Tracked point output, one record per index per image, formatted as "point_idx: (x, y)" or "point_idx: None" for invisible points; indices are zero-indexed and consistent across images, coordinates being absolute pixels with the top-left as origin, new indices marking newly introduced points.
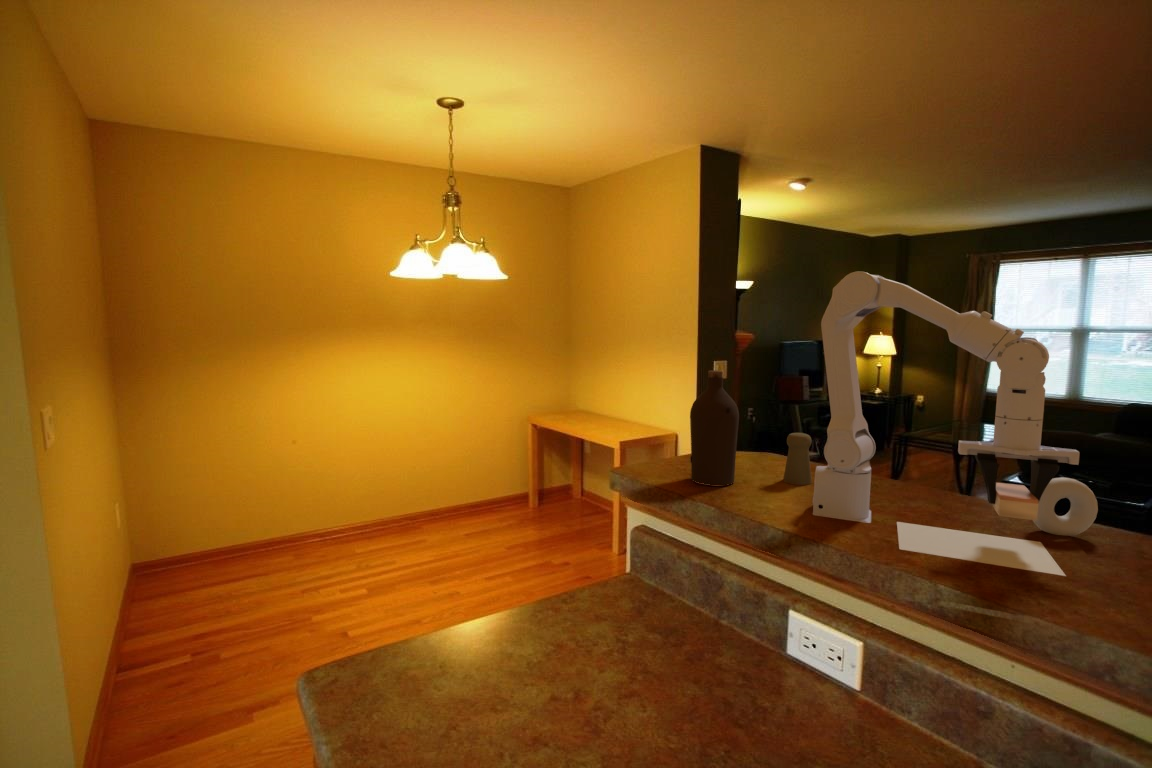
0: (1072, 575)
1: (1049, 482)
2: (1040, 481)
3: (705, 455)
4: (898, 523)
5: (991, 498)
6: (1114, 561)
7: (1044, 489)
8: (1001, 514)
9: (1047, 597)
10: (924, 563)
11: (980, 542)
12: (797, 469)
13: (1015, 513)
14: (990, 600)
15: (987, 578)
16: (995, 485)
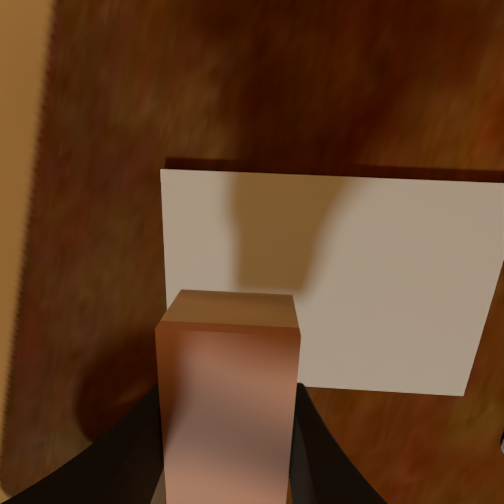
0: (144, 211)
1: None
2: (107, 463)
3: None
4: (462, 384)
5: (304, 393)
6: (55, 336)
7: (108, 430)
8: (285, 296)
9: (226, 19)
10: (470, 131)
11: (298, 323)
12: None
13: (243, 299)
14: None
15: (336, 91)
16: (303, 438)
